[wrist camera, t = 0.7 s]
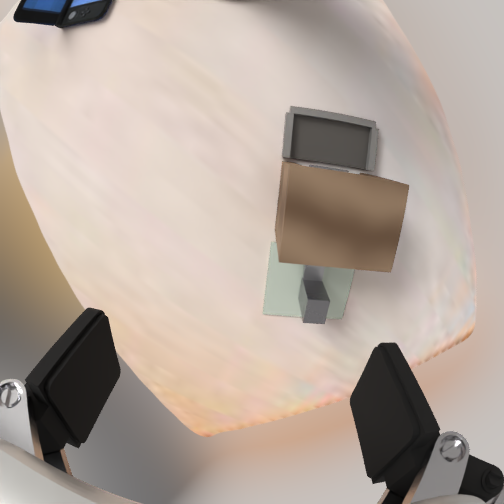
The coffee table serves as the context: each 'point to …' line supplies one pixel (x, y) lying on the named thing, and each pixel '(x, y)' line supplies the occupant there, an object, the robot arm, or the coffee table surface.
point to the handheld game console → (60, 11)
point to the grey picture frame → (330, 138)
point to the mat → (288, 286)
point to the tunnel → (338, 218)
